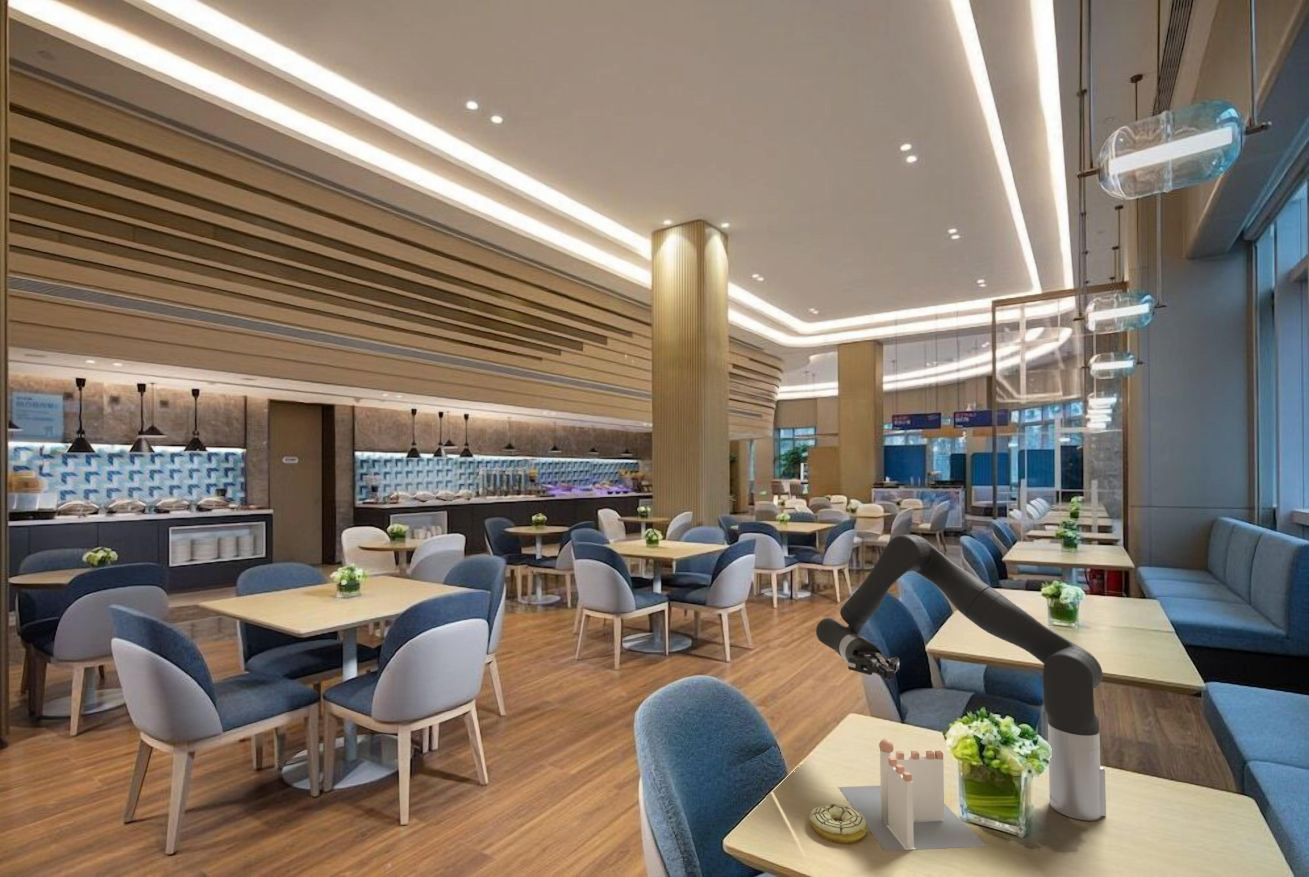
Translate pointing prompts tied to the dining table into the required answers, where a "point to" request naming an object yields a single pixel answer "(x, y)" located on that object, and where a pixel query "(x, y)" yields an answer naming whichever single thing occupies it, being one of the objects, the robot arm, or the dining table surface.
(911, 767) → the white crenellated wall panel
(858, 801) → the card
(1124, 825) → the dining table surface
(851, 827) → the decorated donut
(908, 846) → the fence post and fixed panel
